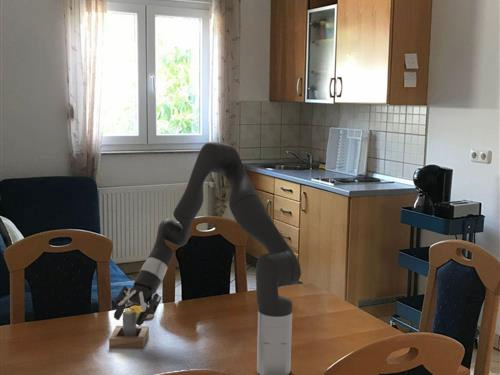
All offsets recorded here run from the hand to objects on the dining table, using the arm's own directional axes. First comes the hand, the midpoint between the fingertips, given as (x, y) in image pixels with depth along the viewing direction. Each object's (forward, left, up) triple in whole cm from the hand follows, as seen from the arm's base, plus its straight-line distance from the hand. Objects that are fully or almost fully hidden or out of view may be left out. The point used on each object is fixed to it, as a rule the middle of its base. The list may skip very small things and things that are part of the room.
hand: (126, 321), depth 178 cm
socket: (+1, -1, -7) cm, 7 cm away
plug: (+1, -1, -7) cm, 7 cm away
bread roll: (+23, 0, -7) cm, 24 cm away
